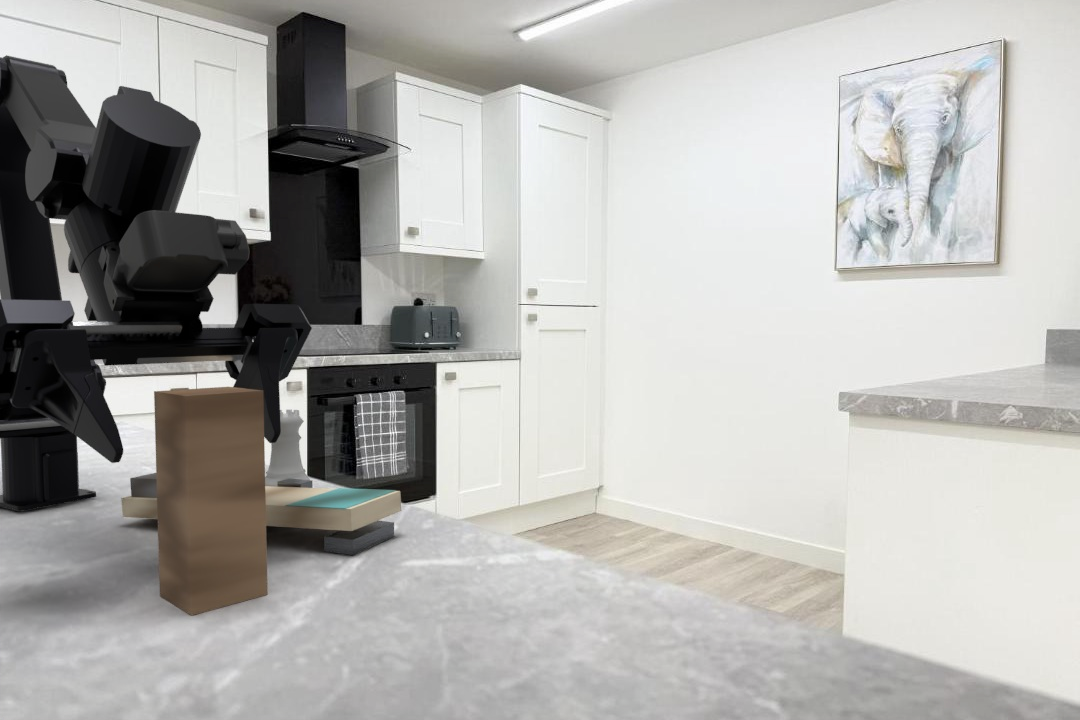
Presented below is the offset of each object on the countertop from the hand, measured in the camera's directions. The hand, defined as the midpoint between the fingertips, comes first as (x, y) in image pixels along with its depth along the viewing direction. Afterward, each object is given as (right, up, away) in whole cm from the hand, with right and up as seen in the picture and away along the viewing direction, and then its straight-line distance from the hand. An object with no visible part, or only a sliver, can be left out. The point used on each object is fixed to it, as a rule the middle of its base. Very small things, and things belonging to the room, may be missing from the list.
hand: (202, 447), depth 45 cm
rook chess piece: (-3, -8, +25) cm, 26 cm away
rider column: (+1, -9, 0) cm, 9 cm away
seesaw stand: (+3, -8, +12) cm, 15 cm away
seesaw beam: (-2, -7, +14) cm, 16 cm away
